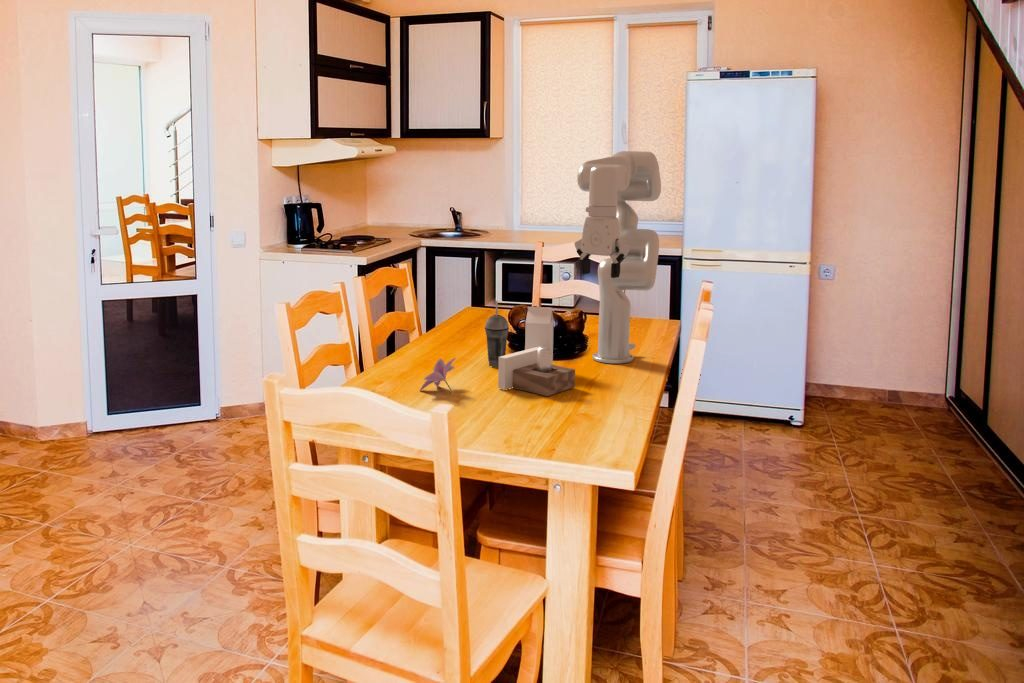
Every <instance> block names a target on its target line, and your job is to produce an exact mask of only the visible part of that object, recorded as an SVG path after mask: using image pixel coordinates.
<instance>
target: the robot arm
mask: <svg viewBox="0 0 1024 683" xmlns="http://www.w3.org/2000/svg"><path fill="white" fill-rule="evenodd" d="M576 182H577V185H578V188H579V189H580V190H581V191H583V192H588V194H589V195H588V207H586V208H585V212H586V213H587V214H588V216H585V219H584V223H583V228H582V236H581V239H579V240H577V241H575V242H574V246H575V249H576V253H577V254H578V256H579V259H580V260H581V268H580V269H581V274H582V275H588V274H590V273H591V263H592V262H591V258H590V257H591V256H593V255H594V256H603V257H608V258H604V259H603V260H601V261H600V262H599V264H598V265H597V266H598V267H597V278H598V279H597V280H598V287H599V288H598V289H599V310H598V335H597V336H598V339H597V343H598V344H597V351H596V352H594V353H593V354H592V359H593V360H594V361H596V362H599V363H603V364H627V363H632V362H633V361H634V355H633V354H632V353H630V351H631V350H634V349H636V344H635V343H634V342H632V343H630V332H631V331H630V329H631V326H630V325H631V308H632V307H631V306H632V305H631V302H630V299H629V298H628V296H627V295H626V293H625V292H624V290H625V291H627V290H628V291H643V292H644V291H645V292H646V291H651V290H652V289H653V287H654V286H655V283H656V276H657V271H658V270H657V268H658V262H659V255H660V254H659V252H660V238H659V235H658V233H657V231H655V230H653V229H650V228H649V229H648V228H647V229H646V228H638V224H639V216H638V214H637V213H636V211H635V210H634V208H633V207H632V206H631V205H630V204H628V203H627V201H628V202H631V201H632V202H655V201H656V200H657V199H659V198H660V196H661V192H662V180H661V172H660V166H659V161H658V158H657V156H656V155H655V154H654V153H653V152H652V151H639V150H635V151H634V150H624V151H619V152H615V153H614V154H613V155H612V156H608V157H602V158H599V159H597V158H596V159H591V160H587V161H585V162H584V163H582V165H580V166H579V169H578V171H577V181H576Z"/></svg>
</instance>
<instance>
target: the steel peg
mask: <svg viewBox="0 0 1024 683" xmlns="http://www.w3.org/2000/svg"><path fill="white" fill-rule="evenodd" d="M537 372H542V373H549V372H552V348H551V347H546V346H542V347H537Z"/></svg>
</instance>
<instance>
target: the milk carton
mask: <svg viewBox="0 0 1024 683" xmlns="http://www.w3.org/2000/svg"><path fill="white" fill-rule="evenodd" d="M525 318H526V319H525V322H524V323H525V329H524V330H525V333H524V334H525V335H524V336H525V337H524V338H525V342H524V350H527V349H531V348H535V347H539V346H546V347H551V348H552V365H554V362H553V361H554V353H553V352H554V322H555V320H554V314H553V307H540V306H538V307H537V306H527V313H526V317H525Z"/></svg>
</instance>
